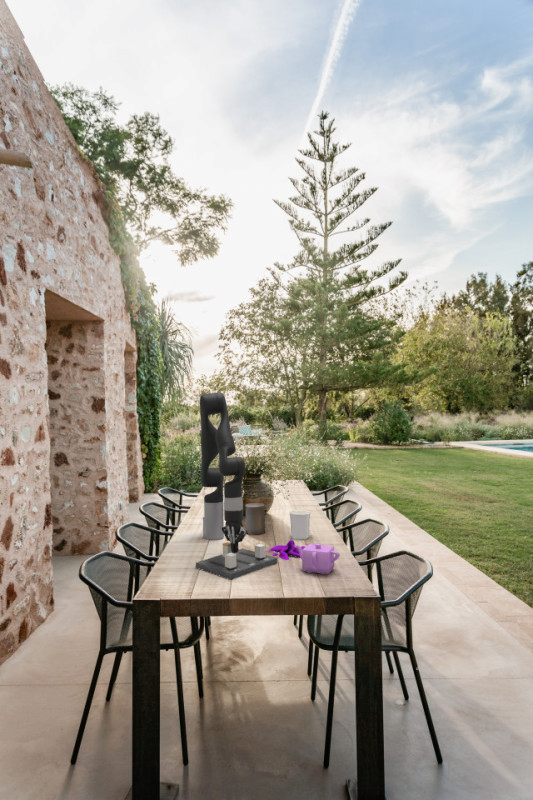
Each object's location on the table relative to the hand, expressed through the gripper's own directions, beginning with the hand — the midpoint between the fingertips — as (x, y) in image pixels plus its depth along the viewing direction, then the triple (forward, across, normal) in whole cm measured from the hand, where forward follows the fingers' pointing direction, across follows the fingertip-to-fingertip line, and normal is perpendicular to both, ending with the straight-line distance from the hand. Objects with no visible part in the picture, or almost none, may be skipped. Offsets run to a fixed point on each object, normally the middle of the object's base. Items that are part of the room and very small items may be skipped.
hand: (234, 552), depth 190 cm
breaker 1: (+3, +6, -8) cm, 11 cm away
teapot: (+6, +28, +16) cm, 33 cm away
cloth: (+6, +7, +25) cm, 26 cm away
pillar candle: (+4, -29, +41) cm, 50 cm away
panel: (+5, +1, 0) cm, 5 cm away
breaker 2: (+2, +6, +8) cm, 10 cm away
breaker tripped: (+2, -4, 0) cm, 5 cm away
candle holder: (+4, -6, +48) cm, 48 cm away
